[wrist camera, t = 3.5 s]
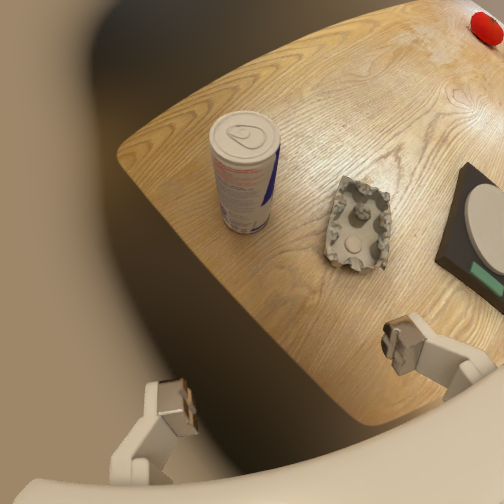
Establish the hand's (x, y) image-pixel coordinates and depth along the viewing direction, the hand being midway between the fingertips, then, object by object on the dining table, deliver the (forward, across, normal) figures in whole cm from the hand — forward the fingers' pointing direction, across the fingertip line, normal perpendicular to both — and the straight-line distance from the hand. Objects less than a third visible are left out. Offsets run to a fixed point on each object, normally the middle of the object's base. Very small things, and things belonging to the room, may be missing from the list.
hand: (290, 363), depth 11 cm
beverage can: (+27, -2, +5) cm, 27 cm away
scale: (+19, -36, +12) cm, 43 cm away
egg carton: (+23, -14, +8) cm, 28 cm away
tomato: (+61, -90, -28) cm, 112 cm away
